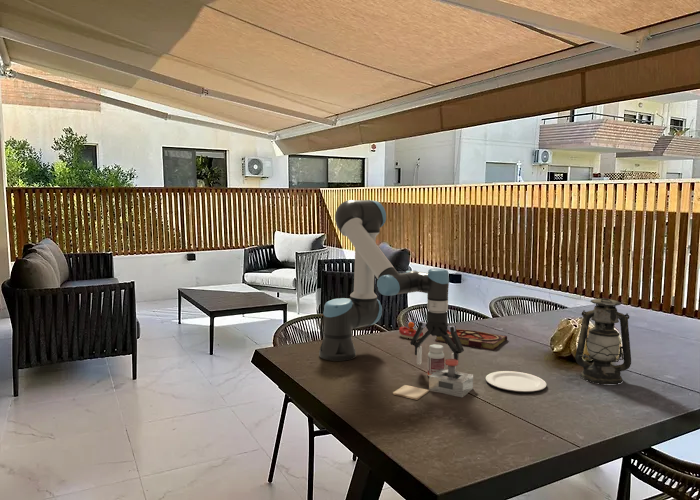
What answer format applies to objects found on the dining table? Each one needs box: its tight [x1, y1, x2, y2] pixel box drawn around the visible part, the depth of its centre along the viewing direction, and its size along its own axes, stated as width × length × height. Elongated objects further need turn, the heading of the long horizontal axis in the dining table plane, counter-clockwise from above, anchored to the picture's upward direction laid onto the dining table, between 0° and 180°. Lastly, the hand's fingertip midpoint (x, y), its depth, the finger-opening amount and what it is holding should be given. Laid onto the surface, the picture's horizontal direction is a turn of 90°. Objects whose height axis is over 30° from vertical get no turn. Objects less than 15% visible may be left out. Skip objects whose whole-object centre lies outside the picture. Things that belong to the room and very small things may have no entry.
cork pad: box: [392, 384, 430, 401], centre depth 176 cm, size 9×9×1 cm
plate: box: [485, 370, 548, 393], centre depth 186 cm, size 21×21×2 cm
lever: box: [444, 358, 459, 378], centre depth 179 cm, size 4×4×6 cm
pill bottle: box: [426, 343, 446, 377], centre depth 193 cm, size 6×6×11 cm
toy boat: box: [398, 321, 424, 340], centre depth 248 cm, size 8×12×8 cm, turn 55°
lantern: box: [574, 298, 632, 385], centre depth 189 cm, size 19×19×30 cm
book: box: [434, 328, 508, 351], centre depth 244 cm, size 28×21×5 cm
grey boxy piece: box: [428, 368, 474, 398], centre depth 180 cm, size 12×10×5 cm
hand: (435, 367), depth 193 cm, fingers open, 13 cm apart
